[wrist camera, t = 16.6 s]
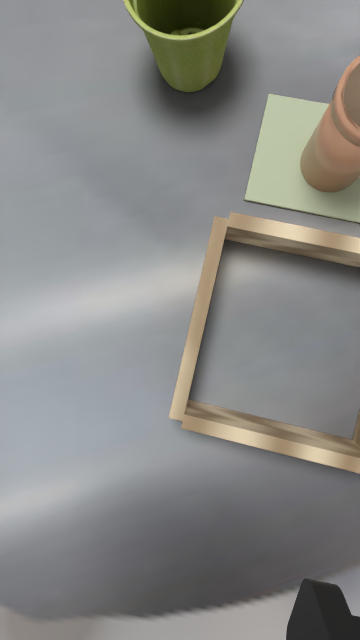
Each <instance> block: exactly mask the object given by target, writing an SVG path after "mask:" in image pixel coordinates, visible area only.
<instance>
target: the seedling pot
mask: <svg viewBox="0 0 360 640" xmlns="http://www.w3.org/2000/svg"><path fill="white" fill-rule="evenodd" d="M300 168H301V172H302V175H303V177H304V179H305V180H306V181H307V183H308V184H309V185H311V186H312V187H313V188H315V189H317V190H319V191H323V192H337V191H341V190H343V189H345V188H347V187H348V186H350V185H351V184H352V183H353V182H354V181H356V180H357V179H358V178H359V177H360V56H358V57H357V58H356V59H355V60H354V61H353V62H352V63H351V64H350V65H349V66H348V67H347V69H346V70H345V72H344V74H343V75H342V77H341V79H340V81H339V82H338V84H337V86H336V88H335V90H334V93H333V96H332V101H331V102H330V104H329V106H328V108H327V109H326V111H325V113H324V114H323V116H322V118H321V120H320V121H319V123H318V125H317V127H316V128H315V130H314V132H313V134H312V135H311V137H310V139H309V141H308V142H307V144H306V146H305V147H304V149H303V152H302V154H301V159H300Z"/></svg>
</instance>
